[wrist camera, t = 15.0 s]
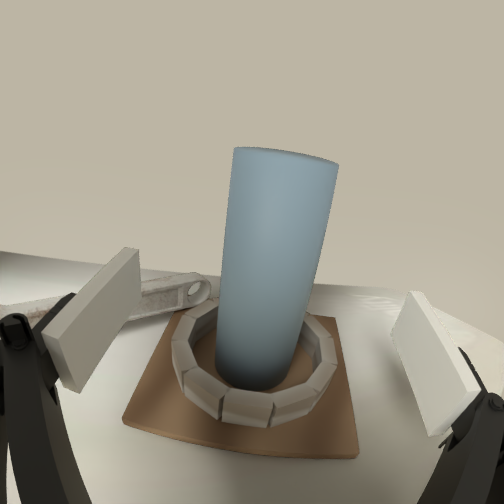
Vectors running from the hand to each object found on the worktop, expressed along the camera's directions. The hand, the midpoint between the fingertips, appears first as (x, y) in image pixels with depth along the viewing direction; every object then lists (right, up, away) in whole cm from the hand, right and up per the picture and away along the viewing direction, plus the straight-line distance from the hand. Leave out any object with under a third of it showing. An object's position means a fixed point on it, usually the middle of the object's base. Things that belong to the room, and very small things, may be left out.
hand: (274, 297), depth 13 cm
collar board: (-1, -8, +10) cm, 12 cm away
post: (-1, -7, +9) cm, 12 cm away
